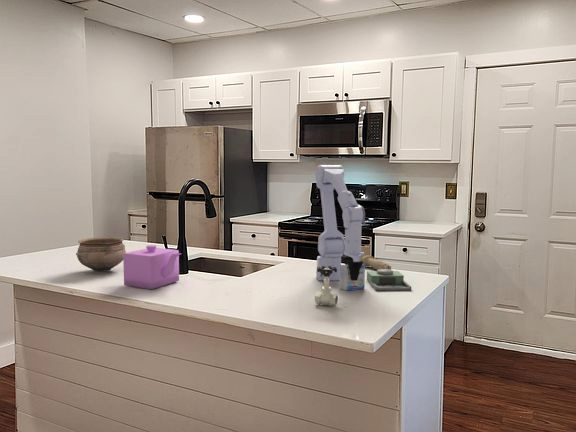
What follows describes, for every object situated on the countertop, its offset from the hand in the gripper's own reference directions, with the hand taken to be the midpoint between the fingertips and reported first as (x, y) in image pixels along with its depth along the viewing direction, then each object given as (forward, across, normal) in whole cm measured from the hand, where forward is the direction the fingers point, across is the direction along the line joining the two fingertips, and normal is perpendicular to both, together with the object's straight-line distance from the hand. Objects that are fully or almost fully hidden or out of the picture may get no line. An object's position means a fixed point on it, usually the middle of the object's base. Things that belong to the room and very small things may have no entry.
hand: (352, 278), depth 182 cm
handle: (+2, +25, -20) cm, 32 cm away
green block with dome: (+4, +9, -14) cm, 17 cm away
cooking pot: (+4, +35, +98) cm, 104 cm away
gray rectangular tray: (+4, 0, -14) cm, 15 cm away
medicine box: (+4, 0, 0) cm, 4 cm away
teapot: (+4, +11, +72) cm, 73 cm away
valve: (+4, -21, +12) cm, 25 cm away
